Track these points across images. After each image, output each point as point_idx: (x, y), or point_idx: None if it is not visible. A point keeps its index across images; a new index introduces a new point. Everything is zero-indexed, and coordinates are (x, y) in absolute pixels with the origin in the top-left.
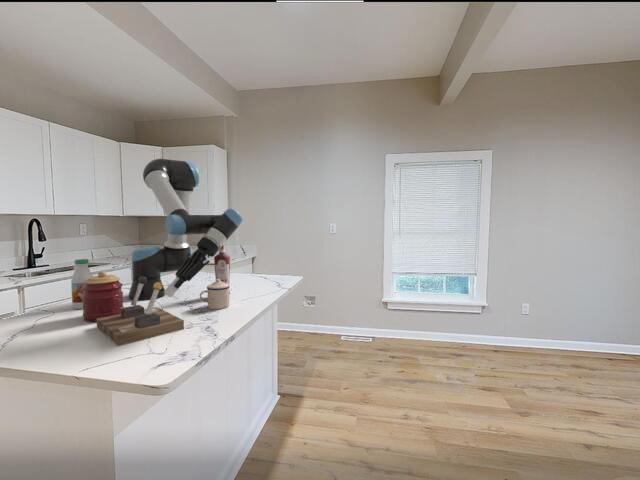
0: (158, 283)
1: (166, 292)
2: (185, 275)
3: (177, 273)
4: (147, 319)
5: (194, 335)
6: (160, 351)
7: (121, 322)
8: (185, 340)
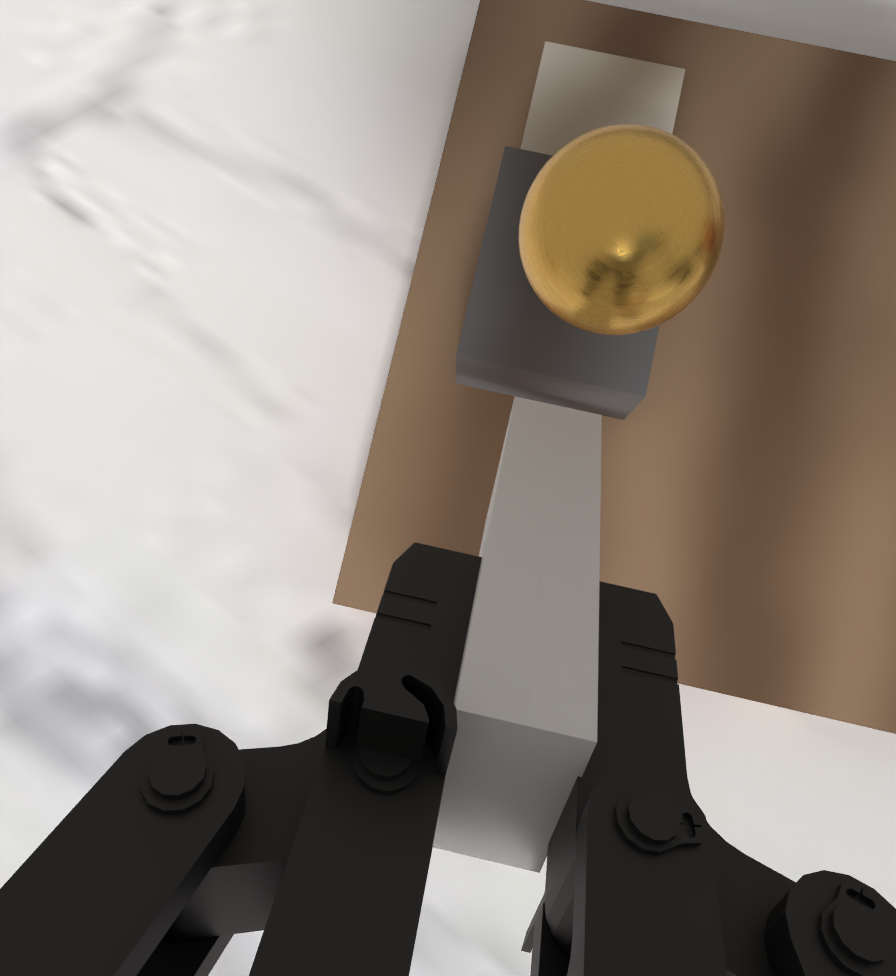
0: (569, 167)
1: (510, 416)
2: (120, 780)
3: (787, 933)
4: (487, 225)
5: (101, 534)
6: (69, 153)
7: (855, 195)
8: (77, 406)
